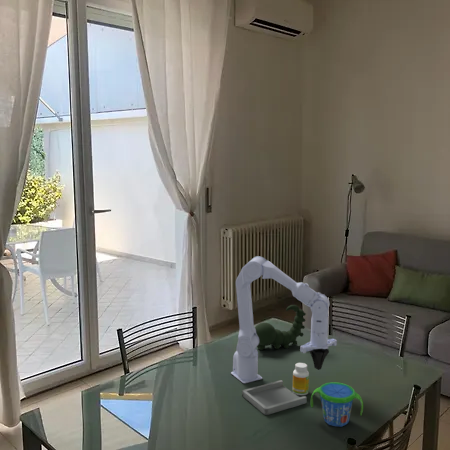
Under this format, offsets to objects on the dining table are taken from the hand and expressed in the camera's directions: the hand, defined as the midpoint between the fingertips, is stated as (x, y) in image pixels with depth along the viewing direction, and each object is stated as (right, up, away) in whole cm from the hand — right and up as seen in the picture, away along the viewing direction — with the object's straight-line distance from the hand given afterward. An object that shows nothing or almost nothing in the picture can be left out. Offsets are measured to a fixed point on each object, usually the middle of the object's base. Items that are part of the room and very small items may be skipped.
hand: (317, 368), depth 174 cm
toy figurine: (-11, -2, +36) cm, 37 cm away
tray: (-16, -8, -8) cm, 20 cm away
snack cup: (+2, -10, -21) cm, 23 cm away
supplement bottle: (-6, -8, -3) cm, 10 cm away
